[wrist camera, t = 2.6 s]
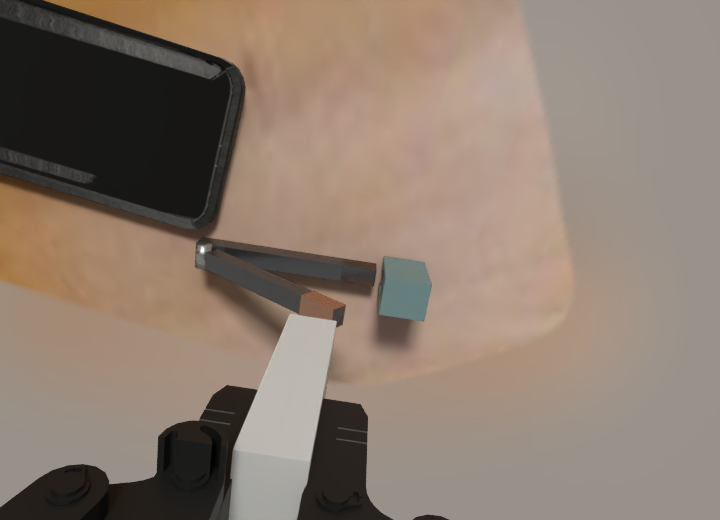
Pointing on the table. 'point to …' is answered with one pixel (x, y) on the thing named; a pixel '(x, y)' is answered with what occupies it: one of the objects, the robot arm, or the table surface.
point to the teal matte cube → (404, 289)
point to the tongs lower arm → (298, 262)
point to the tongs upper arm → (268, 285)
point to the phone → (115, 113)
